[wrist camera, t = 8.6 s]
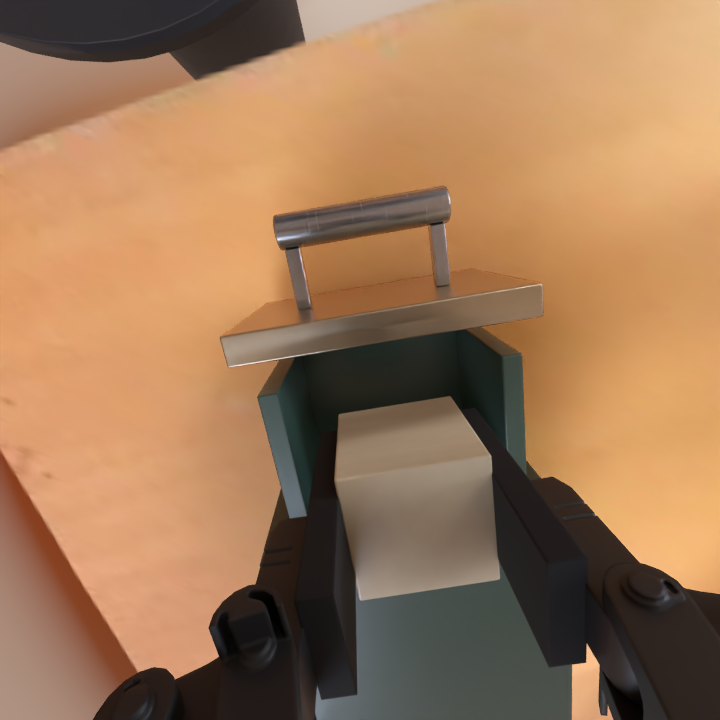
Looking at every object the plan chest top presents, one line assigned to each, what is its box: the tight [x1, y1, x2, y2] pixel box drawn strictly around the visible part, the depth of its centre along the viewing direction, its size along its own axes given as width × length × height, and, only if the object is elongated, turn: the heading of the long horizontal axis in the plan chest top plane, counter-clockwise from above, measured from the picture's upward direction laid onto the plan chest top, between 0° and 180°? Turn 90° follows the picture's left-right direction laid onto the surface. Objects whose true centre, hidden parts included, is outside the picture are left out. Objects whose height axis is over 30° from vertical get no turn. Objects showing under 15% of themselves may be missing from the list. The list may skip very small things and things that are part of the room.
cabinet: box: [260, 461, 572, 720], centre depth 22 cm, size 14×13×10 cm
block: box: [334, 396, 500, 601], centre depth 12 cm, size 4×4×4 cm
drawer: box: [220, 186, 543, 519], centre depth 18 cm, size 16×11×8 cm
